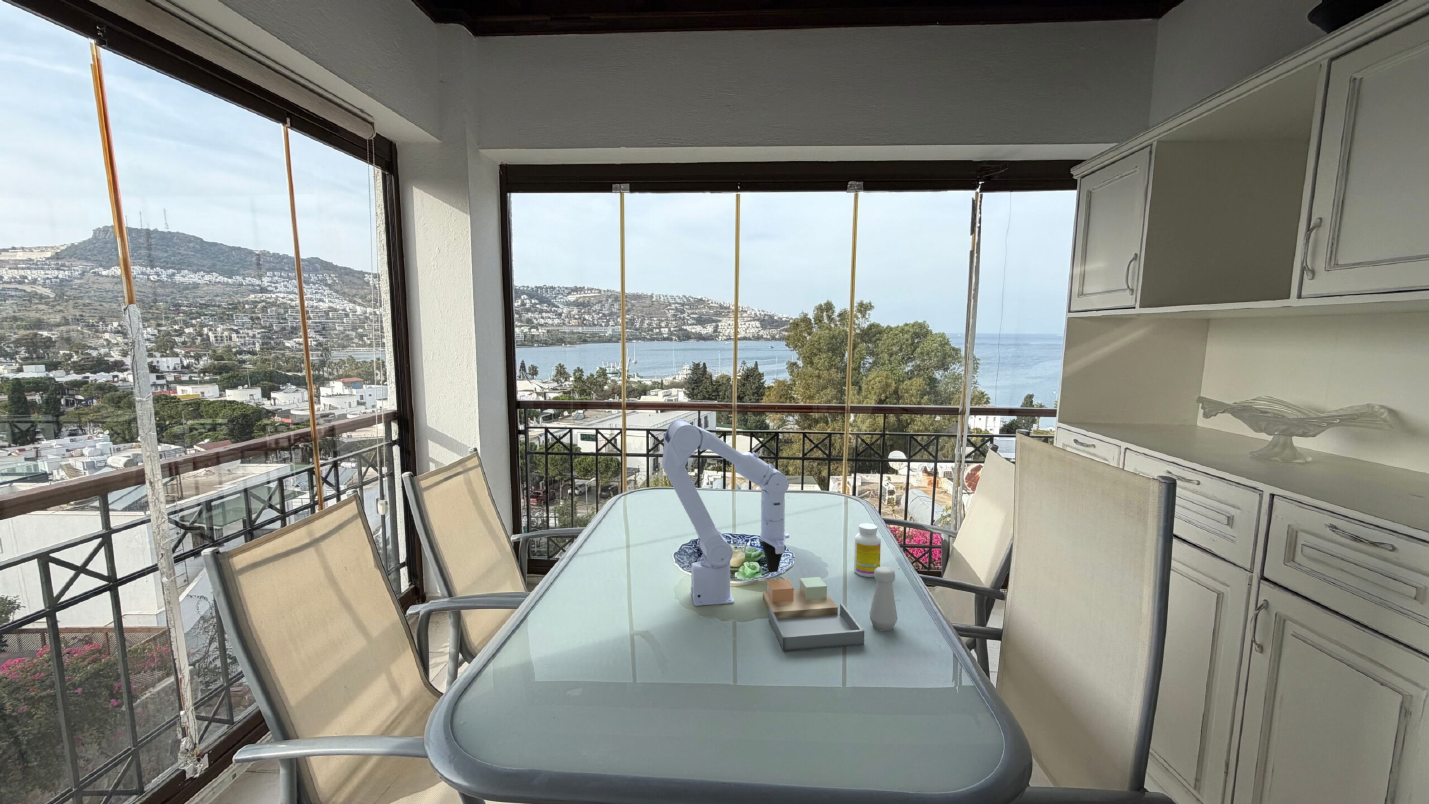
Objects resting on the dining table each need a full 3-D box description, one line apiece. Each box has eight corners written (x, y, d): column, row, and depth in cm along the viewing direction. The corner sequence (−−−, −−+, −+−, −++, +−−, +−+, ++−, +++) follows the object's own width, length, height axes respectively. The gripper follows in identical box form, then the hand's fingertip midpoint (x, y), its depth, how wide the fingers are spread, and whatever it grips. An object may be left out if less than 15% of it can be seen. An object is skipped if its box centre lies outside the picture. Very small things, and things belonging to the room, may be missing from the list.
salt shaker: (898, 634, 117) (900, 575, 116) (870, 632, 118) (871, 573, 117) (895, 621, 123) (897, 564, 121) (868, 618, 124) (869, 562, 122)
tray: (783, 651, 111) (783, 637, 111) (768, 621, 123) (768, 608, 122) (864, 644, 113) (864, 630, 113) (842, 616, 125) (842, 603, 125)
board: (772, 620, 123) (772, 612, 123) (762, 599, 133) (762, 591, 133) (837, 615, 125) (837, 607, 125) (822, 595, 135) (822, 587, 135)
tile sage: (806, 599, 129) (806, 587, 128) (799, 590, 134) (799, 578, 133) (826, 598, 129) (826, 586, 129) (819, 588, 134) (819, 576, 134)
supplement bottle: (882, 578, 145) (884, 530, 143) (857, 578, 145) (858, 530, 144) (875, 567, 151) (877, 522, 150) (851, 567, 152) (852, 521, 150)
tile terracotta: (772, 602, 128) (772, 589, 127) (767, 592, 132) (767, 580, 132) (793, 600, 128) (793, 588, 128) (787, 591, 133) (787, 579, 133)
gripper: (797, 526, 129) (796, 582, 131) (781, 507, 144) (780, 558, 145) (767, 528, 128) (767, 584, 130) (754, 509, 143) (754, 560, 144)
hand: (772, 571), depth 137 cm, fingers closed
